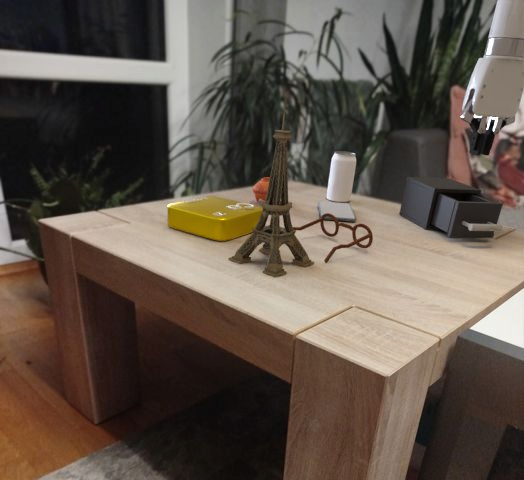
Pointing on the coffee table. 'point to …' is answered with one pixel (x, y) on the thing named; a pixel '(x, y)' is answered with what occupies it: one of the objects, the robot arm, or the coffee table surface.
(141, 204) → the coffee table surface
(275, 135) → the eiffel tower
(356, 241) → the glasses
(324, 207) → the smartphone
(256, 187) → the orange cupcake
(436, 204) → the drawer
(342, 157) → the can
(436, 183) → the cabinet
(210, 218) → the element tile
